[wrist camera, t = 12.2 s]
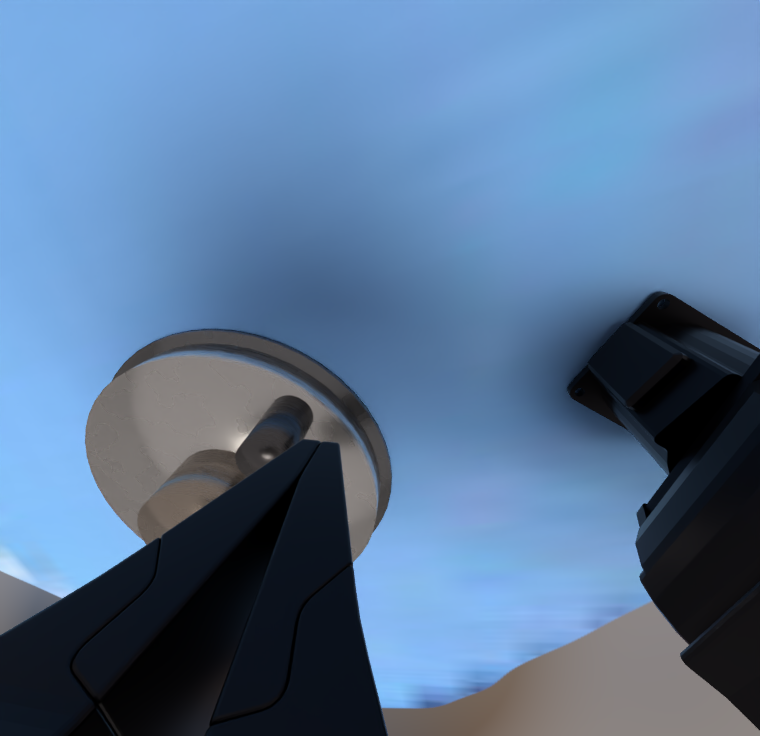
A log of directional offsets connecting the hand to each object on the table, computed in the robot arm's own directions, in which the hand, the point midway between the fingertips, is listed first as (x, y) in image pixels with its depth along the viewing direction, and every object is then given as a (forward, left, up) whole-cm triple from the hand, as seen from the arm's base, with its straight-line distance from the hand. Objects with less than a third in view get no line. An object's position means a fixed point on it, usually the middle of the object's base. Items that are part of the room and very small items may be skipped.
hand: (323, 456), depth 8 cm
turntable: (+3, +15, -12) cm, 19 cm away
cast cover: (+3, +15, -9) cm, 18 cm away
